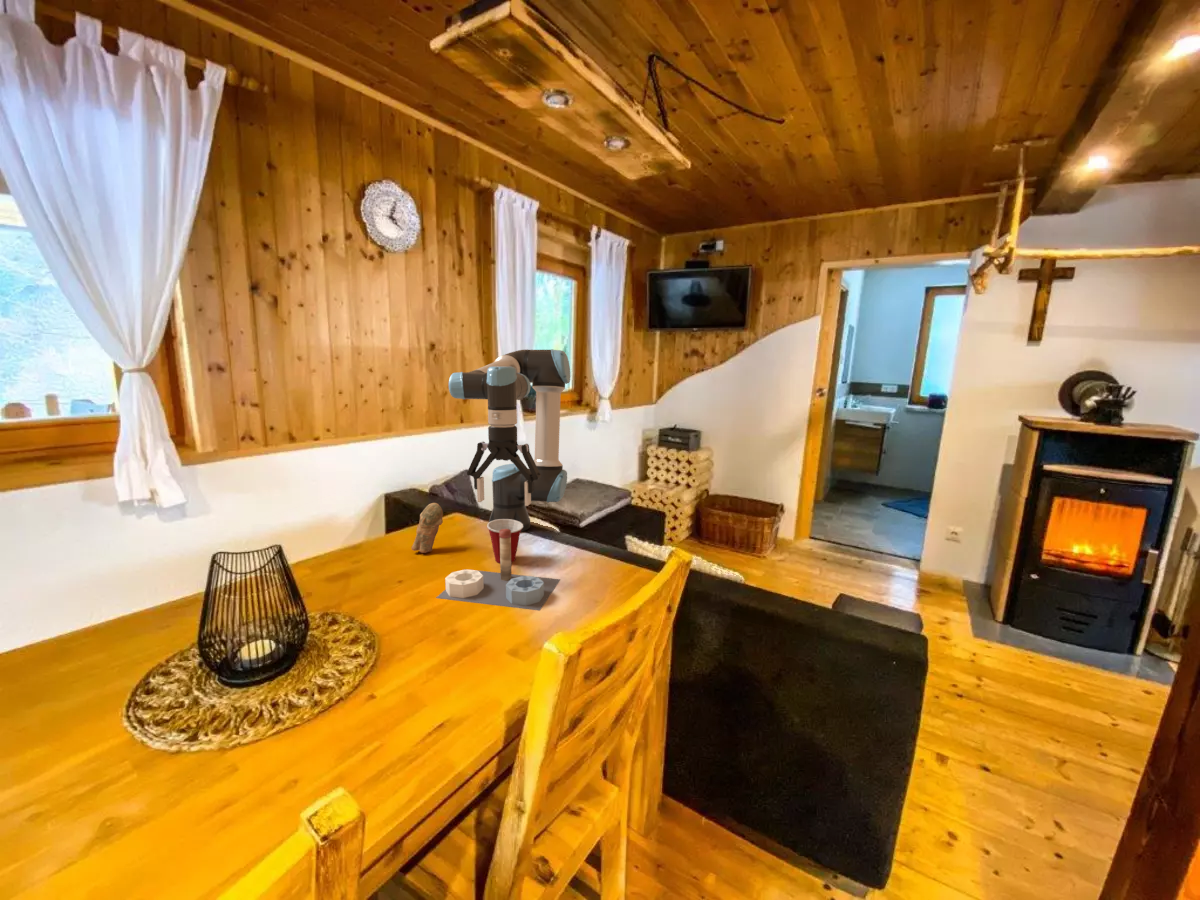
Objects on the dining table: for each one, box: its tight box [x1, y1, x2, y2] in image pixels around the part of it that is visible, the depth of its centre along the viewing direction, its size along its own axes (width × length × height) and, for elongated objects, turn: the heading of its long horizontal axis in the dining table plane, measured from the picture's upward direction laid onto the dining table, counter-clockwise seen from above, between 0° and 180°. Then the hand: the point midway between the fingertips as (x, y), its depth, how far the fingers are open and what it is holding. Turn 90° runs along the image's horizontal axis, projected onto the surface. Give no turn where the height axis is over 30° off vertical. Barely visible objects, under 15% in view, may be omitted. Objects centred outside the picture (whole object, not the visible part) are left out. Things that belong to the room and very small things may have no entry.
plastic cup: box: [486, 519, 523, 564], centre depth 151 cm, size 11×11×12 cm
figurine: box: [411, 502, 444, 554], centre depth 158 cm, size 8×8×15 cm
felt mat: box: [435, 569, 561, 611], centre depth 133 cm, size 18×28×1 cm, turn 78°
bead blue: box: [506, 575, 544, 606], centre depth 129 cm, size 9×9×4 cm
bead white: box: [444, 568, 484, 598], centre depth 132 cm, size 9×9×4 cm
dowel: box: [499, 529, 512, 581], centre depth 138 cm, size 3×3×14 cm
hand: (504, 502), depth 135 cm, fingers open, 13 cm apart
